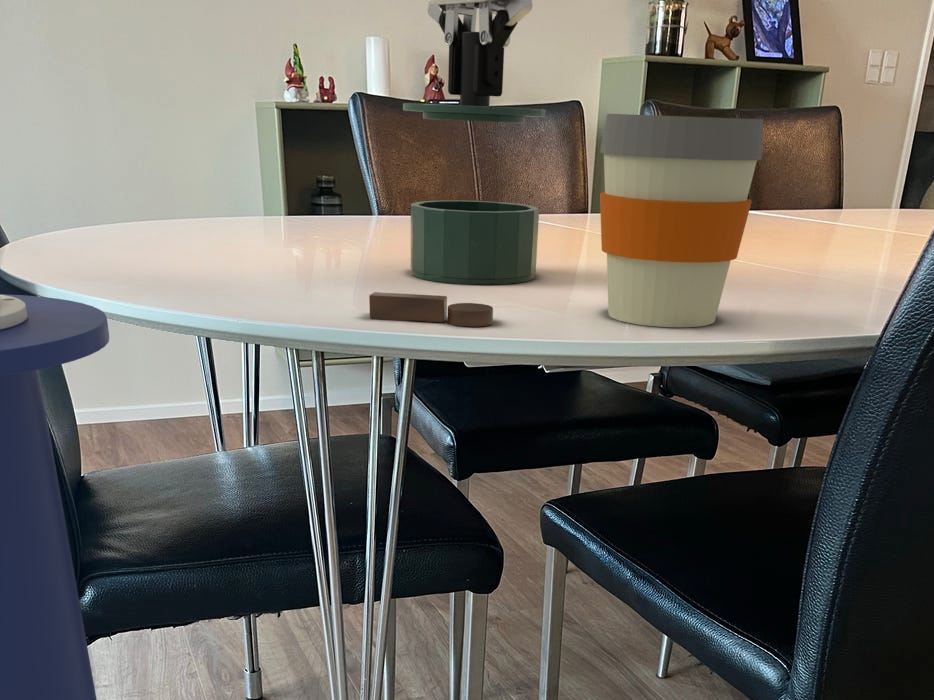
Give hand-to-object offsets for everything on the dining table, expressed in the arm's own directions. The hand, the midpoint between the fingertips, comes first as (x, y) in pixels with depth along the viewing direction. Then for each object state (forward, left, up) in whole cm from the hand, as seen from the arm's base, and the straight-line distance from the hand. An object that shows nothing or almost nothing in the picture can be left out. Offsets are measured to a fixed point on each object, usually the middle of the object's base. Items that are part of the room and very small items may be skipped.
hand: (475, 93), depth 94 cm
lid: (0, 0, -2) cm, 2 cm away
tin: (0, 0, -16) cm, 16 cm away
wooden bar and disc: (-19, -17, -16) cm, 30 cm away
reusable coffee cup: (-2, -26, -16) cm, 31 cm away
